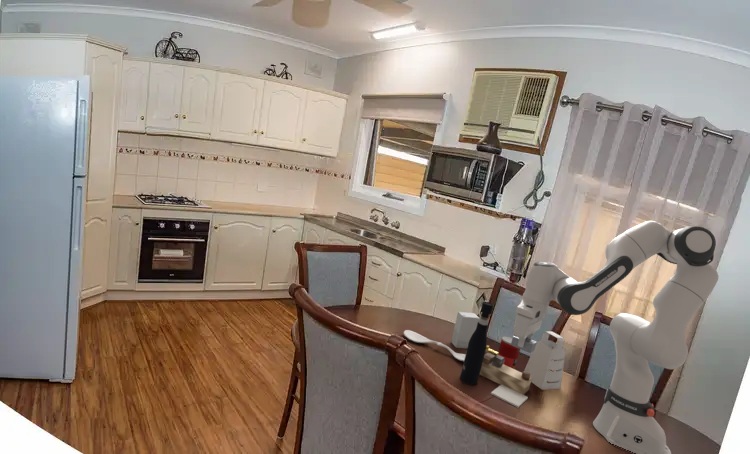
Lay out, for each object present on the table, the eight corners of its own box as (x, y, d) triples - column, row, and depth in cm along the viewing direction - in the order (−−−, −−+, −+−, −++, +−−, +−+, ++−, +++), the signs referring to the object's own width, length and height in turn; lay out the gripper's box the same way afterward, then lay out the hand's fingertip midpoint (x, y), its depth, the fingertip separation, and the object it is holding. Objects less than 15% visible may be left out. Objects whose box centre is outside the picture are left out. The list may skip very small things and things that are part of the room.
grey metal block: (534, 350, 151) (536, 341, 151) (530, 353, 148) (532, 344, 147) (515, 342, 155) (517, 333, 155) (510, 344, 152) (512, 336, 151)
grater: (540, 374, 179) (553, 328, 176) (560, 388, 170) (574, 340, 167) (521, 375, 174) (534, 328, 171) (541, 389, 165) (555, 340, 162)
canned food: (516, 371, 176) (522, 346, 175) (496, 366, 178) (502, 341, 176) (513, 363, 184) (520, 339, 182) (494, 358, 185) (501, 334, 183)
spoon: (468, 369, 170) (470, 360, 170) (398, 338, 186) (400, 330, 186) (476, 362, 178) (478, 354, 177) (408, 333, 194) (410, 326, 194)
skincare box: (467, 343, 195) (474, 312, 193) (472, 350, 190) (480, 318, 187) (450, 342, 193) (457, 310, 191) (455, 348, 187) (463, 315, 185)
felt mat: (527, 398, 155) (528, 397, 155) (518, 407, 147) (518, 406, 147) (501, 385, 161) (501, 384, 161) (490, 393, 153) (491, 392, 153)
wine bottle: (480, 382, 160) (500, 305, 156) (471, 386, 155) (491, 307, 151) (465, 374, 164) (484, 299, 160) (456, 378, 160) (475, 301, 155)
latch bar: (497, 354, 167) (499, 350, 167) (496, 356, 165) (497, 351, 165) (483, 348, 170) (484, 343, 170) (481, 349, 169) (482, 344, 169)
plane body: (528, 389, 162) (534, 369, 161) (522, 395, 157) (528, 374, 156) (484, 368, 173) (489, 349, 172) (477, 373, 167) (482, 353, 166)
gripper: (533, 300, 159) (524, 335, 161) (514, 308, 143) (504, 347, 145) (551, 306, 156) (541, 342, 158) (533, 315, 139) (522, 355, 141)
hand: (523, 344), depth 151 cm, fingers closed on grey metal block, 4 cm apart
